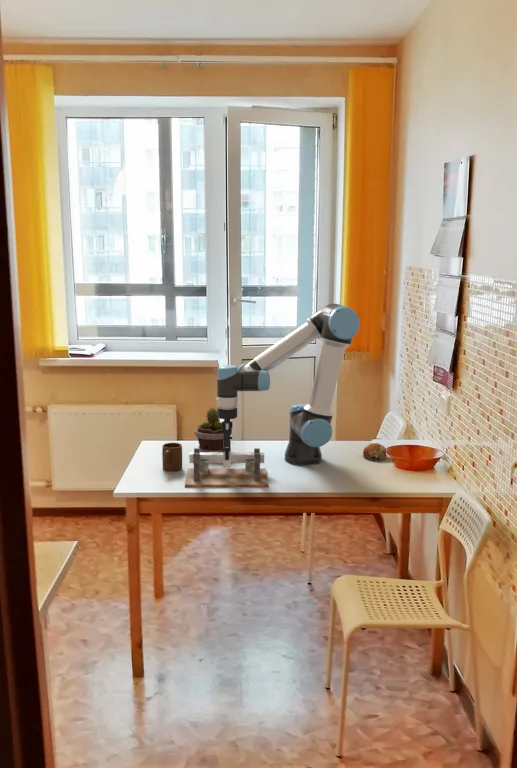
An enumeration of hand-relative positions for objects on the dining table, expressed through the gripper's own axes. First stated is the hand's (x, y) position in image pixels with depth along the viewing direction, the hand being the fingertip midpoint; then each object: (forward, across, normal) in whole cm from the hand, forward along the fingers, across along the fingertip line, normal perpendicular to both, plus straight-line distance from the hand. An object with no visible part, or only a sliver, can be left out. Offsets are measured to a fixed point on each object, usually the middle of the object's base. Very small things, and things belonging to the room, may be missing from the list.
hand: (226, 461), depth 250 cm
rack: (+5, +5, 0) cm, 7 cm away
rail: (0, 0, 0) cm, 0 cm away
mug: (+5, -5, -22) cm, 23 cm away
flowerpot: (+5, -26, -6) cm, 27 cm away
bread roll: (+5, -21, +61) cm, 65 cm away
